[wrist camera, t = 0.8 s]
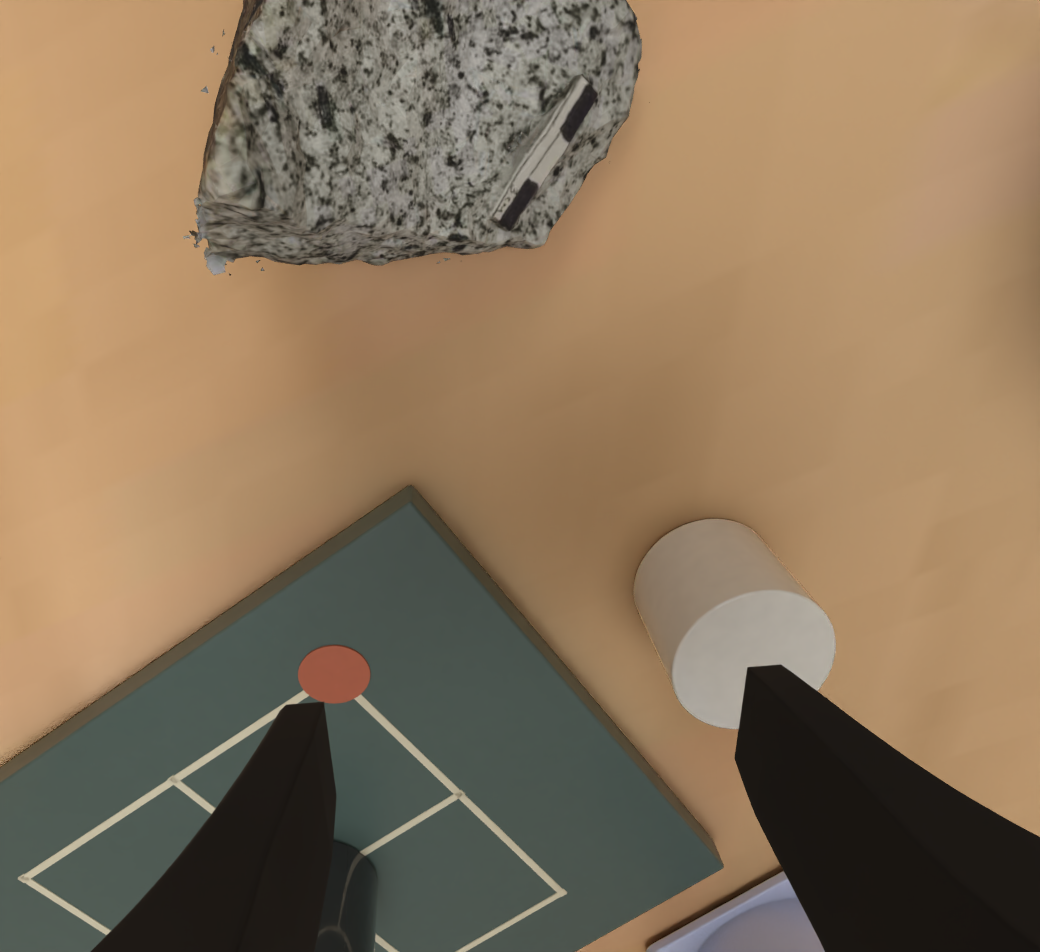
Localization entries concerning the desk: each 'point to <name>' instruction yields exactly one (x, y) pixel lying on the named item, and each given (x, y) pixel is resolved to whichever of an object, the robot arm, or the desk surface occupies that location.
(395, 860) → the game board
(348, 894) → the dark grey cylinder
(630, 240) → the desk surface
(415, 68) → the rock sample
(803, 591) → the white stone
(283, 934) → the robot arm
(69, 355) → the desk surface
